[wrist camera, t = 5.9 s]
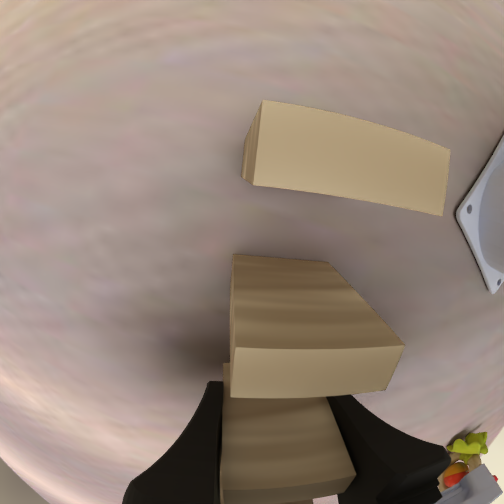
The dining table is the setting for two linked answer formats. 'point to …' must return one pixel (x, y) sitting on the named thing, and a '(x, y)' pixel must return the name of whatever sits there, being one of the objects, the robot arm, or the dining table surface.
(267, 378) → the domino
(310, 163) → the domino
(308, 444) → the domino
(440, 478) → the bird rattle
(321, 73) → the dining table surface
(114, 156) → the dining table surface
